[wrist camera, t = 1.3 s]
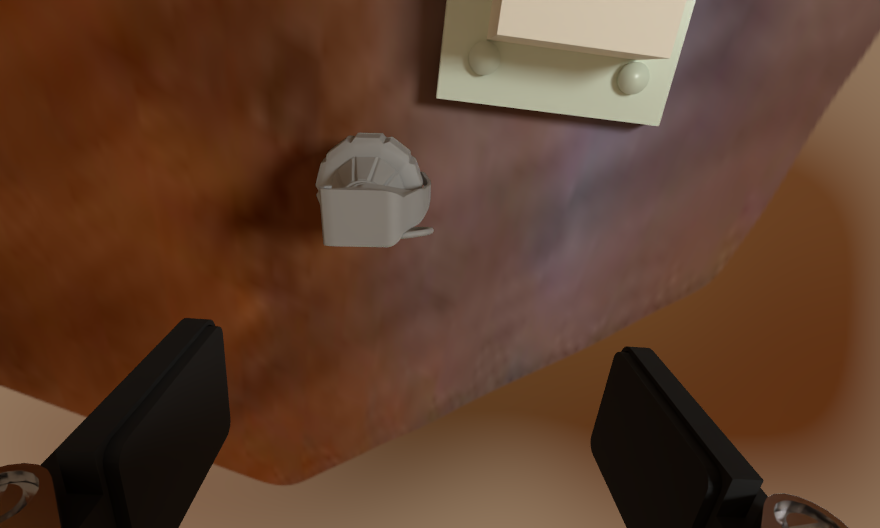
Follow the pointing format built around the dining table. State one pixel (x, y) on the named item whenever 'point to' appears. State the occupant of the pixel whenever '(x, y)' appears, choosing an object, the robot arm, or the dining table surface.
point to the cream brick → (590, 26)
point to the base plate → (549, 72)
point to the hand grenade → (371, 193)
